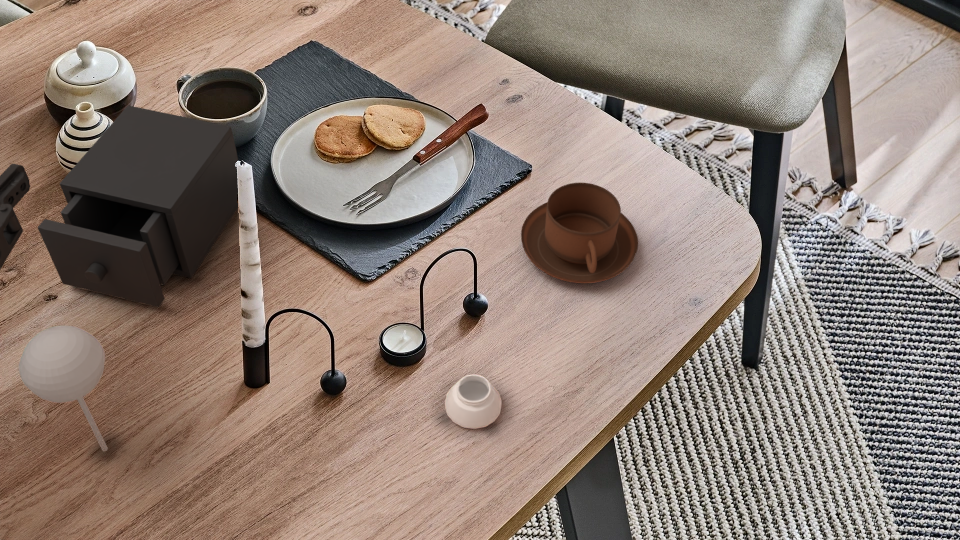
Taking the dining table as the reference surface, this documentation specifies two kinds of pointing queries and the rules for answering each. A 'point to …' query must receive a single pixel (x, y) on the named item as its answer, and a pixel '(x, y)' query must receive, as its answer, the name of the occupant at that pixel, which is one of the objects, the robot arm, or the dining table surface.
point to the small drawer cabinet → (165, 176)
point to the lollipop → (64, 367)
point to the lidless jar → (473, 402)
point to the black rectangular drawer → (112, 249)
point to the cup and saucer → (580, 235)
